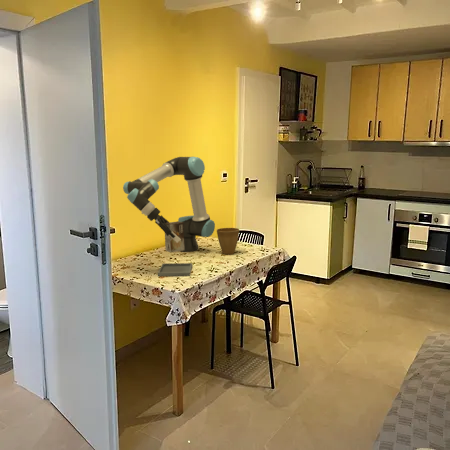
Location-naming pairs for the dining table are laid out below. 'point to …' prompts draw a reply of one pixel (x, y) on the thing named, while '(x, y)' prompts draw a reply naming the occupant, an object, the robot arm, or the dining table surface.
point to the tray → (175, 269)
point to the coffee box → (171, 243)
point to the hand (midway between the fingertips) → (180, 239)
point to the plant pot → (228, 239)
